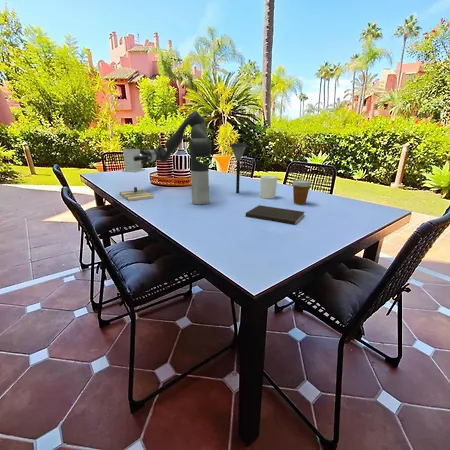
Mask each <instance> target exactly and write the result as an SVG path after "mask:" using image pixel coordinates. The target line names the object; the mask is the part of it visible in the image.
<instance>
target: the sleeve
mask: <svg viewBox="0 0 450 450" xmlns="http://www.w3.org/2000/svg"><path fill="white" fill-rule="evenodd" d="M140 151H141V148H124V149H122V153H123V161H124V169H122V170H121V172H122V173H123V172H125V173H140V172H144V171H145V170H146V169H145V168H142V163H141V161H135V159H134V157H138V156H140Z"/></svg>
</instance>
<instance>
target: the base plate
mask: <svg viewBox="0 0 450 450" xmlns="http://www.w3.org/2000/svg"><path fill="white" fill-rule="evenodd" d="M119 195H120V196H121V197H123V199H125V200H127V201H128V202H133V201H134V202H135V201H142V200H149V199H155V196H154V195H153V194H151V193H150V192H148V191H146V190H145V189H138V187H137V186H134V188H133V190H126V191H125V190H124V191H119Z"/></svg>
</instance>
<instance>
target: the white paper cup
mask: <svg viewBox="0 0 450 450" xmlns="http://www.w3.org/2000/svg"><path fill="white" fill-rule="evenodd" d="M277 185H278V176H276V175H261V176H260V198H262V199H266V200H267V199H268V200H270V199H275V198H276V192H277Z"/></svg>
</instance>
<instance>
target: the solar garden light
mask: <svg viewBox="0 0 450 450" xmlns="http://www.w3.org/2000/svg"><path fill="white" fill-rule="evenodd" d="M228 147H229V148H230V147H231V149H232V152H233V155H234V157H235V159H236V177H235V178H236V179H235V180H236V183H235V185H236V186H235V187H236V188H235V191H236V192H235V193H236V194H240V176H241V175H240V170H241V169H240V168H241V167H240V166H241V159H242V157H243V155H244V153H245V150H246V148H249V147H250V146H249V145H248V144H246V143H243V142H241V143H239V142H234V143H232V144H230V145H229V146H228Z"/></svg>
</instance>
